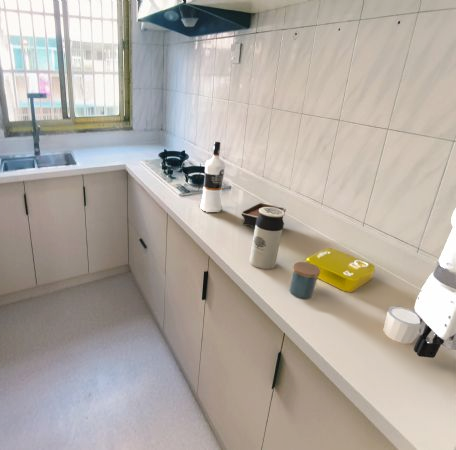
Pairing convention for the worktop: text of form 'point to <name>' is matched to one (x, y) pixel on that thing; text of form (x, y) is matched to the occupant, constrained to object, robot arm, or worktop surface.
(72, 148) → the worktop surface
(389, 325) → the white cup
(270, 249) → the travel mug
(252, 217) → the baking dish
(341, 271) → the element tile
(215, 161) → the vodka
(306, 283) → the salt pot
